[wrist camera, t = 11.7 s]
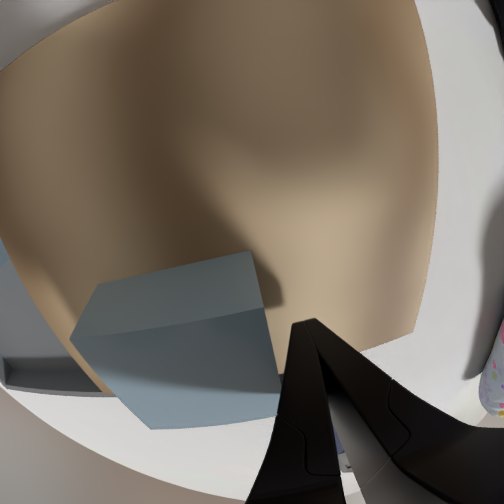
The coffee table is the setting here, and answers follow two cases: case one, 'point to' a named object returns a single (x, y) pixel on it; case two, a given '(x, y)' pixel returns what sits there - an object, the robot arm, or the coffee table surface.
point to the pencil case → (494, 378)
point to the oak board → (227, 157)
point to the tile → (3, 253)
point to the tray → (35, 347)
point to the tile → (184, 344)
